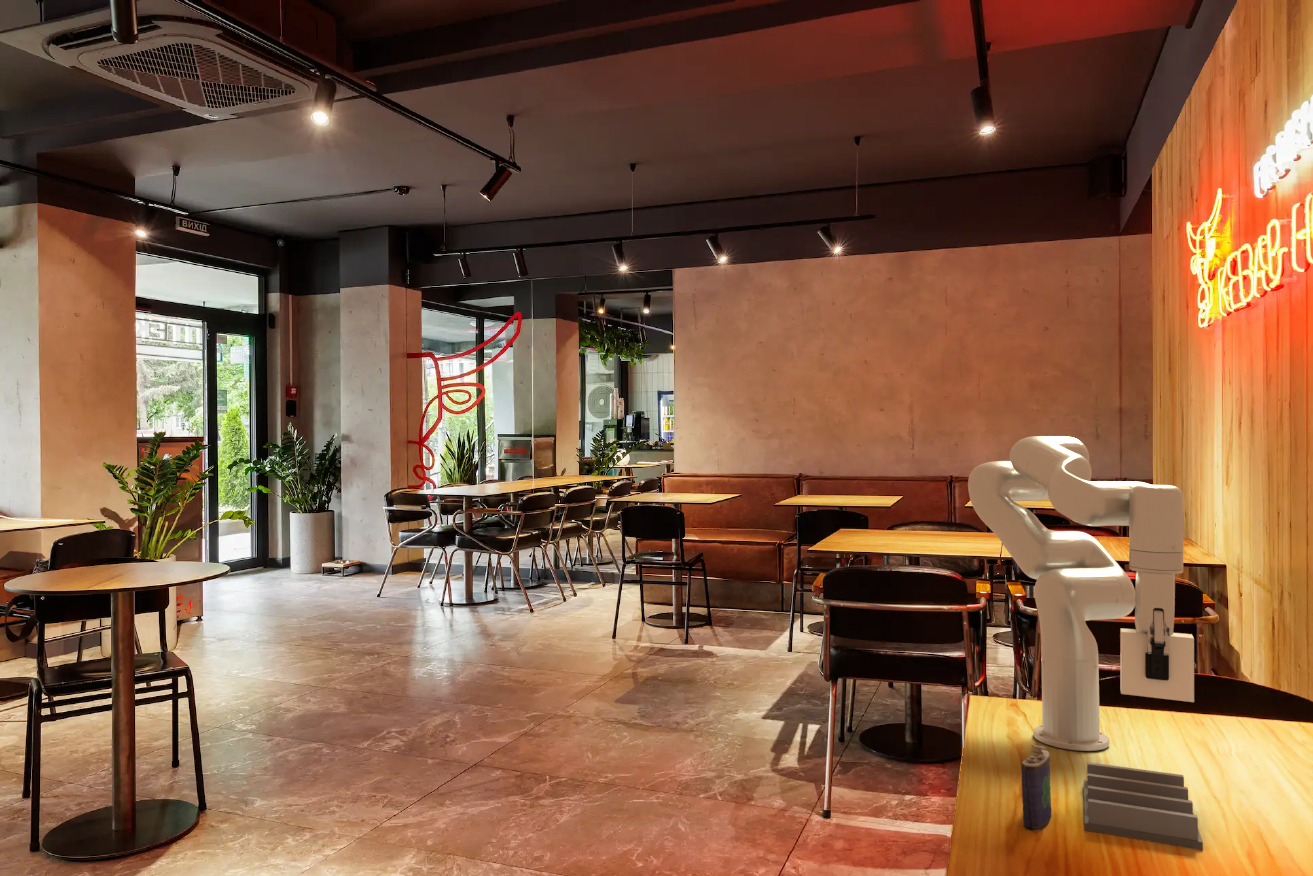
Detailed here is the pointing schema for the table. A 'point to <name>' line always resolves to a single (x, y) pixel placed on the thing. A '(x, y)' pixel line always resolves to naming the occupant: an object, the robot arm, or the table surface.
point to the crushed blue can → (1036, 789)
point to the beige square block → (1179, 667)
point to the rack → (1140, 805)
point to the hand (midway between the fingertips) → (1156, 675)
